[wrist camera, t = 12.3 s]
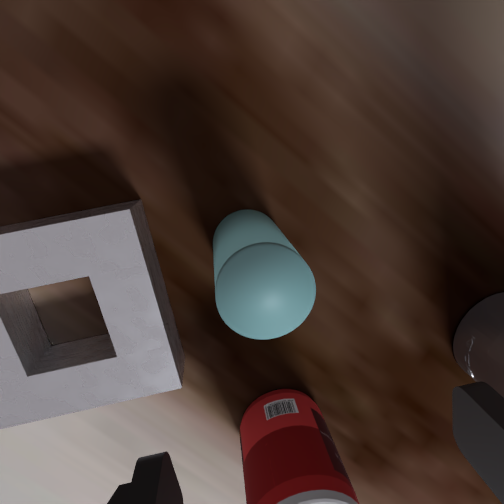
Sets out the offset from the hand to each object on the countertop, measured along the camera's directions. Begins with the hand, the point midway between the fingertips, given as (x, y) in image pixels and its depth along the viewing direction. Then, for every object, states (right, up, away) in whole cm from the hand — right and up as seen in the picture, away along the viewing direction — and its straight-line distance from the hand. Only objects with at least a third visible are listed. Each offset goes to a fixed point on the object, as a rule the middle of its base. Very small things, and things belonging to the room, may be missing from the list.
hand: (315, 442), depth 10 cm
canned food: (+1, -11, +24) cm, 27 cm away
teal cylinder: (-2, +6, +19) cm, 20 cm away
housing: (-16, +1, +18) cm, 24 cm away
